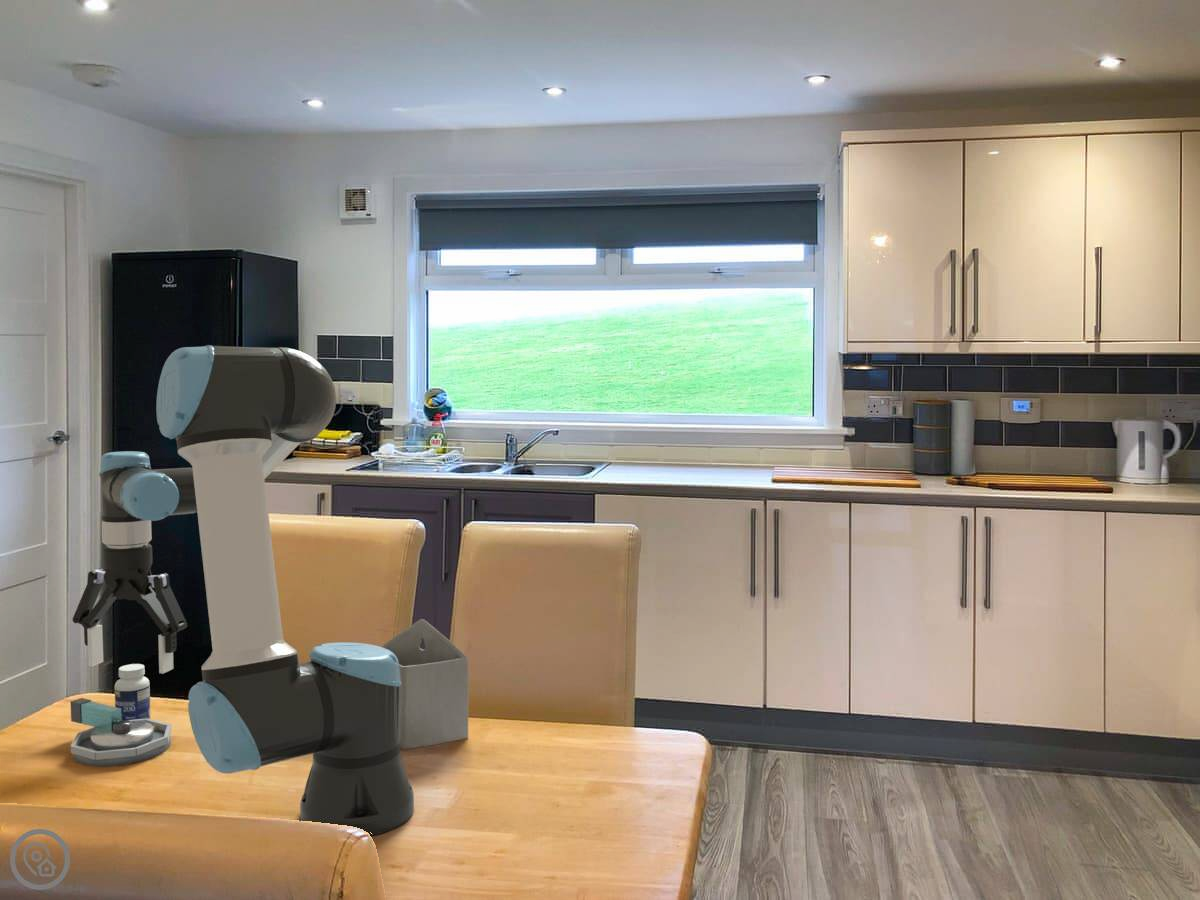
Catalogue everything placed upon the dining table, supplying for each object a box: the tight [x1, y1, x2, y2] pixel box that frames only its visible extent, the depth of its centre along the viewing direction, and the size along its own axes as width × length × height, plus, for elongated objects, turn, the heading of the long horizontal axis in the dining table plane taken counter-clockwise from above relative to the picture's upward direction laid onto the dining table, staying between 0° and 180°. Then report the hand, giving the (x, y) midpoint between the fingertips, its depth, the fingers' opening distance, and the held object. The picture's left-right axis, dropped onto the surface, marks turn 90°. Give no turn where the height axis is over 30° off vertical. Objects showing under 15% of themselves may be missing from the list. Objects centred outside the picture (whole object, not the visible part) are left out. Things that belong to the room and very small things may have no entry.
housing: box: [70, 718, 172, 768], centre depth 161 cm, size 14×14×2 cm
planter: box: [380, 618, 469, 751], centre depth 165 cm, size 16×8×19 cm, turn 75°
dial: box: [70, 697, 154, 751], centre depth 162 cm, size 16×9×5 cm, turn 63°
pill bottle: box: [114, 663, 151, 721], centre depth 172 cm, size 5×5×10 cm
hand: (130, 667), depth 172 cm, fingers open, 13 cm apart
